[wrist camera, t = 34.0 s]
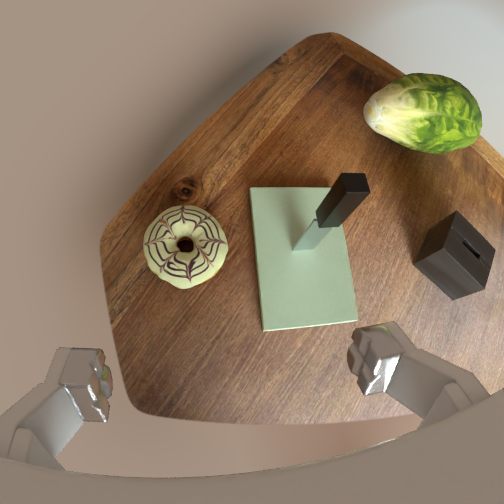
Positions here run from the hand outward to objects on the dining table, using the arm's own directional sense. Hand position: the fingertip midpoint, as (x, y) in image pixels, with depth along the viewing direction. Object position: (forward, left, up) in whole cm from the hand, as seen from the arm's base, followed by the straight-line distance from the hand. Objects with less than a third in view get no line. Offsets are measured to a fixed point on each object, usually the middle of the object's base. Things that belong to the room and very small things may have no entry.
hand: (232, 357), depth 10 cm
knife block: (-10, -37, -31) cm, 50 cm away
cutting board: (+5, -17, -31) cm, 36 cm away
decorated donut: (+14, -4, -31) cm, 34 cm away
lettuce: (+12, -51, -31) cm, 61 cm away
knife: (+5, -17, -30) cm, 35 cm away
